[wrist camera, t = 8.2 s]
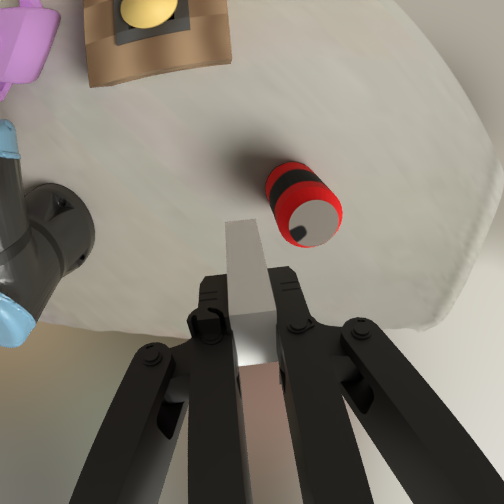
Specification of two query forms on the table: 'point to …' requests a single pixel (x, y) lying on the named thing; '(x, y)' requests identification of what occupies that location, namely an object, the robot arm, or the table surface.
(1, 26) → the teapot
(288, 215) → the soda can
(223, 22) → the socket
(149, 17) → the peg
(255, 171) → the table surface
